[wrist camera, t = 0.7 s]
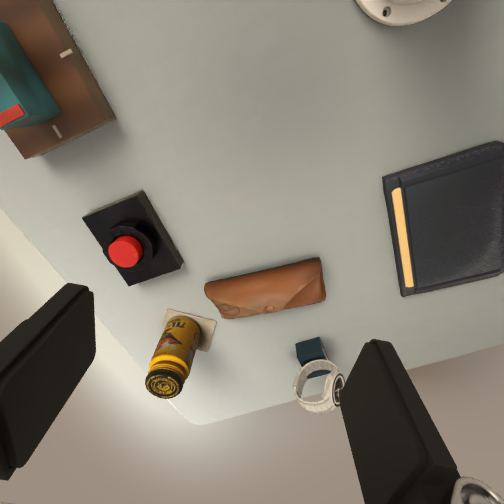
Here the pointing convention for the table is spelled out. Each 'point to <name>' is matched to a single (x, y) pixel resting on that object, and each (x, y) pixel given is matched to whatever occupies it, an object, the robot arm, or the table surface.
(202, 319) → the condiment
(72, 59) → the base
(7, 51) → the teal rectangular block
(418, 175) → the wallet
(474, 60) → the table surface
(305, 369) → the watch
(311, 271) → the sunglasses case
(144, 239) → the button box
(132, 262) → the button
